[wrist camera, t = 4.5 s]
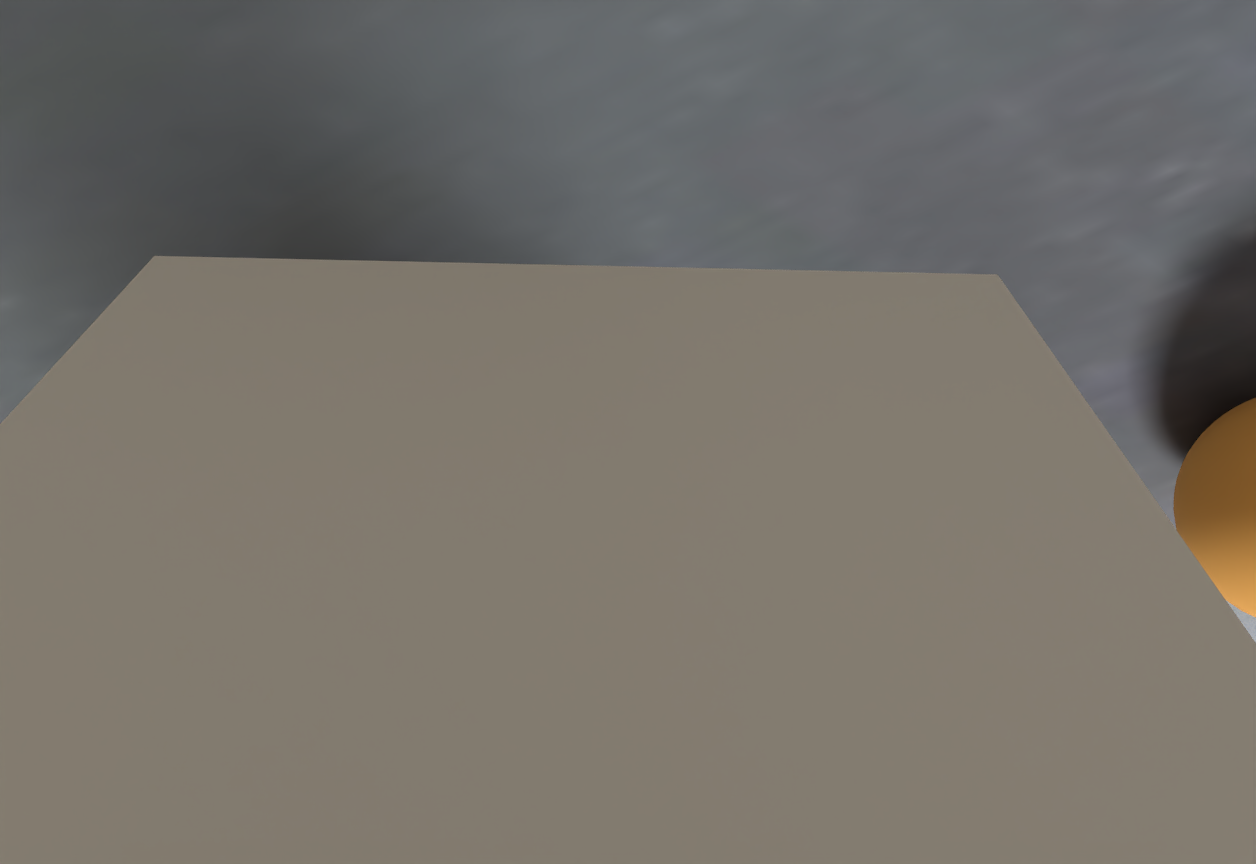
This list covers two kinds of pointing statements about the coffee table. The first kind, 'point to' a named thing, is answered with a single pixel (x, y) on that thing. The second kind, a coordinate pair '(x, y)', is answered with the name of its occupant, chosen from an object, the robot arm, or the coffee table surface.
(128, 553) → the cream cuboid
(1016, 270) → the coffee table surface
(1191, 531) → the ball
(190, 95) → the coffee table surface
